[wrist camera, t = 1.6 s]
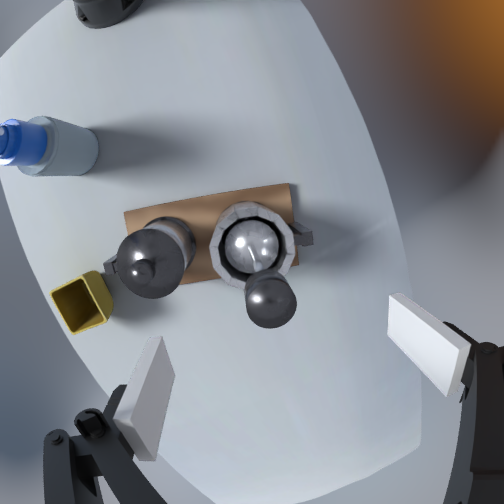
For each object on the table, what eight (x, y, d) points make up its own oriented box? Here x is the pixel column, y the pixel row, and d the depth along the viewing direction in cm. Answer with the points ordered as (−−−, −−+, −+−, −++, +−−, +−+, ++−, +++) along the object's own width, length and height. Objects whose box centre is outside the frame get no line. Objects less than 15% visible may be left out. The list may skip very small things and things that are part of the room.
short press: (120, 225, 46) (74, 245, 30) (190, 211, 46) (170, 225, 31) (133, 280, 48) (96, 321, 32) (201, 269, 49) (189, 310, 33)
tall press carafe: (210, 206, 47) (202, 215, 34) (289, 194, 47) (311, 198, 34) (220, 267, 49) (218, 296, 36) (297, 255, 50) (319, 279, 37)
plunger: (220, 224, 37) (211, 266, 18) (273, 216, 37) (316, 249, 19) (229, 275, 38) (230, 355, 20) (280, 267, 39) (322, 338, 20)
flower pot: (103, 260, 49) (82, 274, 40) (124, 301, 51) (107, 322, 42) (71, 276, 49) (48, 292, 40) (91, 315, 51) (72, 336, 42)
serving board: (126, 211, 47) (123, 212, 46) (287, 183, 48) (288, 183, 47) (143, 287, 50) (141, 290, 49) (297, 262, 51) (299, 265, 50)
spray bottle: (88, 119, 42) (1, 86, 18) (105, 158, 45) (16, 147, 20) (54, 146, 43) (-39, 135, 18) (69, 184, 45) (-26, 194, 21)
